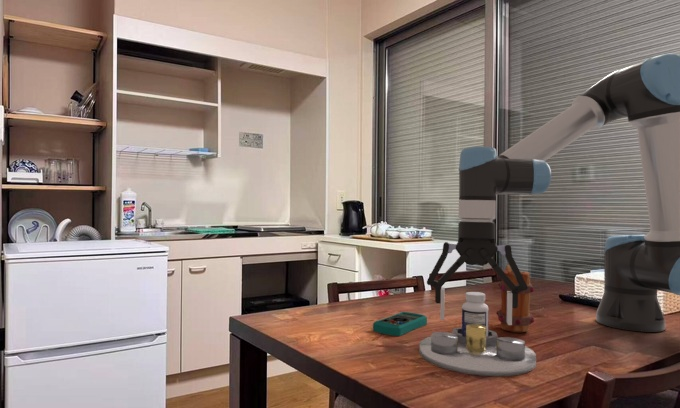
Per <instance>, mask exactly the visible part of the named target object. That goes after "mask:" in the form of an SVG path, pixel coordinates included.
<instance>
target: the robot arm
mask: <svg viewBox="0 0 680 408" xmlns="http://www.w3.org/2000/svg"><path fill="white" fill-rule="evenodd" d="M623 118H627V121H628V122H627V123H628V124H629V125H630V126H632V127H634V128H635V129H636V131H637V139H638V146H639V154H640V160H641V168H642V169H641V170H642V175H643V176H642V177H643V183H644V184H643V185H644V189H645V191H644V192H645V199H646V206H647V212H648V213H647V215H648V221H649V228H650V230H649V231H648V232H647V233H646V234H627V235H624V234H623V235H614V236H609V237H607V239H606V240H605V247H604V251H603V252H604V253H603V254H604V255H603V256H604V257H603V258H604V259H603V260H604V262H603V263H604V264H603V265H604V267H603V268H604V270H603V271H604V280H603V281H604V282H603V283H604V286H603V287H604V290H603V295H602V298H601V300H600V303H599V305H598V307H597V310H596V312H595V314H596V315H595V317H596V318H595V320H596V322H597V323H598V324H601V325H603V326H607V327H609V328H613V329H619V330H625V331H631V332H644V333H645V332H647V333H657V332H663V331H665V330H666V319H665V317H664V313H663V311H662V307H661V305H660V302H659V299H658V291H661V292H665V293H670V294H674V295H676V296H680V54H677V53H664V54H660V55H656V56H652V57H649V58H647V59H644V60H642V61H640V62H637V63H635V64H632V65H630V66H629V65H628V66H626V67H624V68H622V69H618V70H615V71H613V72H611V73H609V74H607V75H606V76H605V77H604V78H602V79H600V80H599V81H598V82H596V83H595V84H593V85H592V86H591V87H590V88H588V89H586V91H584V92H582V93H581V94H579V95H578V96H576V97H575V98H574V99H573V101H572V102H571V106H569V107H567V108H566V109H565V110H563V111H562V112H560V113H559V114H558V115H556V116H555V117H553V118H552V119H551V120H549V121H547V122H546V123H545V124H543V125H541V126H540V127H539V128H537V129H535V130H534V131H532V132H531V133H529V134H527V136H526V137H523V138H522V139H520V141H518V142H516V143H515V144H514V145H511V147H509V148H508V149H506V150H505V151H503V152H502V153H500V154H499V155H497V149H496V148H495V147H491V146H490V147H489V146H470V147H465V148H462V150H461V151H460V155H459V163H458V173H459V174H458V175H459V176H458V182H459V183H458V219H460V220H461V221H459V222H458V227H457V228H458V229H457V230H458V231H457V234H458V236H457V242H456V243H449V242H448V241H445V242H444V243H443V245H442V252H441V254H440V256H439V258H438V260H437V262H436V264H435V265H434V267H433V269H432V271H431V272H430V274H429V276H428V278H427V280H426V284H427V285H428V286H431V287H434V293H435V294H434V295H435V296H434V302H435V304H440V311H439V313H440V315H439V316H440V317H439V318H440V321H445V299H446V298H445V295H446V294H445V293H446V292H445V291H446V290H445V289H446V288H445V286H444V287H443V285H445V283H447V281H448V280H449V279H451V277H452V276H454V274H455V273H456V272H457V270H459V268H461V266H463V265H464V263H465V264H466V265H469V266H473V265H479V266H485V265H486V266H487V264H488V265H490V267H491V268H492V269H493V270H494V272H496V273H495V274H497V275H498V277H500V279H501V281H502V280H503V281H504V282H505V283H506V284H507V286H508V287H509V288H510V289H511V291H507V324H508V325H512V308H517V307H518V293H519V292H520V291H523V290H527V289H528V287H527V285H526V283H525V281H524V279H523V277H522V275H521V273H520V271H521V270H520V269H519V266H518V265H517V263H516V261H515V259H514V257H513V252H512V246H511V245H510V244H508V243H505V244H503V245H497V243H496V223H495V222H494V221H493V220H496V219H497V218H496V216H497V215H496V214H497V213H496V211H497V210H496V209H497V207H496V202H497V201H496V199H497V197H496V196H498V195H529V196H530V195H540V194H543V193H546V191H547V190H548V189H549V187H550V184H551V181H552V169H551V167H550V165H549V164H548V163H547V162H546V161H547V160H549V159H551V157H553V156H554V155H556V154H557V153H559V152H560V151H561V150H563V149H564V148H566V147H567V146H569V145H570V144H572V143H573V142H575V141H576V140H578V139H579V138H581V137H582V136H583V135H585V134H586V133H588V132H589V131H595V130H599V129H601V128H603V127H604V126H605V125H607V124H608V123H611V122H613V121H617V120H621V119H623ZM454 250H455V251H456V252H457V253H458V254H459V257H458V258H457V259H456V261H455V262H454V263H453V264H452V265H451V266H450V267H449V268H448V269H447V270H446V271H445V272H444V273H443V274H442V276H441V277H440V278H438V280H436V278H437V276H438V274H439V273H440V270H441V269H442V266H443V265H444V263H445V261H446V259H447V257H448V254H451V253H453V251H454ZM498 252H500V255H502V256H504V257H505V259H506V261H507V263H508V264H507V265H509V266H510V268H511V270H512V272H513V274H514V276H515V278H516V280H517V282H518V285H514V283H513V282H512V281H511V280H510V279H509V278H508V276H507V275H506V274H505V273H504V270H503V269H502V268H501V267H500V266H499V264H498V263H497V262H496V261H495V260H494V258H493V257H494V256H496V253H498Z"/></svg>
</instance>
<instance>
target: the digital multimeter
mask: <svg viewBox="0 0 680 408" xmlns="http://www.w3.org/2000/svg"><path fill="white" fill-rule="evenodd" d="M427 325H428V317H427V316H426V315H424V314H421V313H414V312H408V311H407V312H406V311H400V312H398V313H396V314H394V315H391V316H388V317H385V318H382V319H379V320H376V321H374V322H373V323H372V331H373V332H376V333H378V334H382V335H388V336H392V337H393V336H394V337H401V336H403V335H406V334H408V333H410V332H412V331H415V330H416V329H419V328H422V327H424V326H427Z"/></svg>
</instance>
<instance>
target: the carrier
mask: <svg viewBox="0 0 680 408" xmlns="http://www.w3.org/2000/svg"><path fill="white" fill-rule="evenodd" d="M498 336H499V335H498V334H497V331H494V330H491V329H488V337H486V326H484V325H480V324H467V325H466V335H463V334H462V326H460V327H454V328H452V332H447V331H436V332H435V331H434V332H432V333H431V335H430V336H428V337H425V338H423V339H422V340H421V341H420V342H419V349H418V350H419V356H420V357H421V358H422V360H424V361H425V362H427V363H429V364H431V365H434V366H436V367H439V368H441V369H444V370H449V371H452V372H456V373H460V374H465V375H473V376H482V377H511V376H518V375H519V376H520V375H524V374H528V373H530V372H531V370H532V371H533V370H535V368H536V367H537V354H536V353H535V352H534V350H533V349H532V348H530V347H528V346H526V342H525V340H523V339H520V338H516V337H509V336H504V337H503V336H502V337H498ZM529 371H530V372H529Z"/></svg>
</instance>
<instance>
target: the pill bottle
mask: <svg viewBox="0 0 680 408" xmlns="http://www.w3.org/2000/svg"><path fill="white" fill-rule="evenodd" d="M485 301H486V293H483V292H481V291H480V292H479V291H467V292H465V302H463V304H462V307H461V327H462V334H463V335H466V325H467V324H480V325H484V326H486V337H488V330H489V317H490V316H489V311H490V309H489V306H488V305H487V304H486V303H485Z"/></svg>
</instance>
